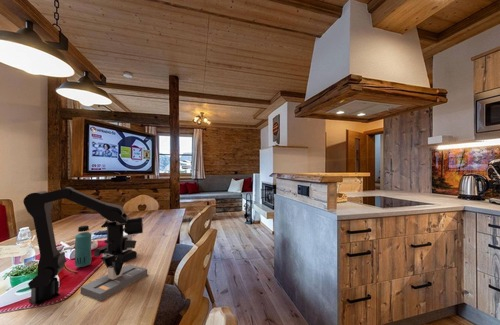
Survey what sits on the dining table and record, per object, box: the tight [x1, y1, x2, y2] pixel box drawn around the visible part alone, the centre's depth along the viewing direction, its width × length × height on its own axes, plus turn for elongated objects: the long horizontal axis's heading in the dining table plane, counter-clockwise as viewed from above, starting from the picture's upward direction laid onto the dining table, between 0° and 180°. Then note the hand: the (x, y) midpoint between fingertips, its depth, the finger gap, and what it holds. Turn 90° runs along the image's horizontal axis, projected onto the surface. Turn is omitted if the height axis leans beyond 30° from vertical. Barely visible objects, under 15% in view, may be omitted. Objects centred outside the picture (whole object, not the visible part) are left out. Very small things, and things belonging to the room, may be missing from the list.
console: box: [80, 264, 148, 302], centre depth 87 cm, size 20×12×3 cm, turn 157°
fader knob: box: [107, 265, 122, 280], centre depth 86 cm, size 4×3×6 cm
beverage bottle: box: [74, 225, 92, 268], centre depth 101 cm, size 6×7×20 cm
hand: (115, 274), depth 86 cm, fingers closed on fader knob, 3 cm apart
